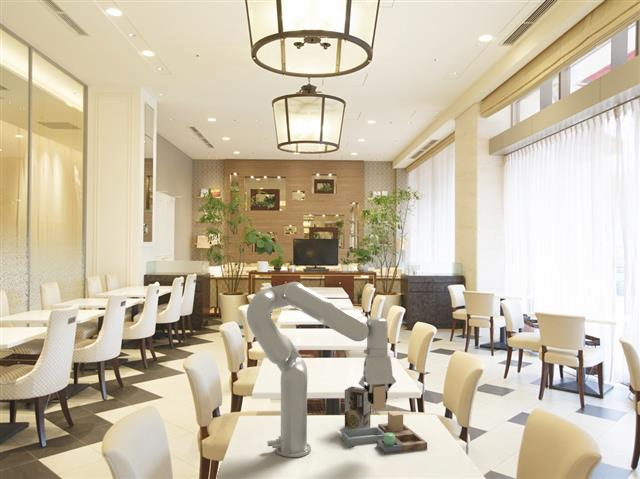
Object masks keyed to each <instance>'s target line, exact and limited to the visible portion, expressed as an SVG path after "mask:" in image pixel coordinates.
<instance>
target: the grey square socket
mask: <svg viewBox="0 0 640 479" xmlns="http://www.w3.org/2000/svg"><path fill="white" fill-rule="evenodd" d="M376 447H377V448H378V449H379V451H381V453H382V454H384V455H386V454H394V453H403V452H402V445H401V444H400V443H399V442H398V441H397V440H395V445H390V446H386V445H385V444H384V439H383V440H377V442H376Z"/></svg>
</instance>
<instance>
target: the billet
mask: <svg viewBox="0 0 640 479" xmlns="http://www.w3.org/2000/svg"><path fill="white" fill-rule="evenodd" d="M372 393H373V404H371V403H370V402H369V406H370V408H372V409H373V410H382V409H383V410H384V409H386V408H387V406H386V405H387V404H386V386H385V385H383V384H382V385H373V390H372Z"/></svg>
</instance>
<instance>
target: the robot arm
mask: <svg viewBox="0 0 640 479" xmlns="http://www.w3.org/2000/svg"><path fill="white" fill-rule="evenodd" d="M288 306H290V307H293V308H294V309H295V310H296V309H297V310H298V311H299V312H302V313H304V314H305V315H307V316H309V317H311V318H312V319H314V320H316V321H317V322H319V323H321V324H322V325H325V326H326V327H329V328H330V329H332V330H334V331H335V332H336V333H339V334H340V335H343V336H344V337H346V338H348V339H350V340H351V341H354V342H362V341H364V340H366V348H365V349H363V354H365V356H364V363H363V374H362V375H363V376H362V377H361V378H360V380H359V382H358V385H359V386H361V388H365V389H366V390H367V391H368V401H369V402H370V403H371V404H373V393H372V390H373V385H382V384H383V385H385V386H386V403H387V400H388V396H389V395H388V393H389V391H390V389H391V387H393V385H394V384H395V383H397V379H396V378H395V377H394V375H393V367H392V361H391V360H392V359H391V356H390V355H388V354H389V353H388V352H389V349H388V348H389V347H388V343H389V342H388V337H389V336H388V335H389V334H388V326H389V325H388V321H387V319H386V318H382V317H371V318H370V317H369V318H368V317H359V316H353V315H351V314H349V313H347V312H346V311H344V310H343V309H341V308H340V307H339V306H338V305H336V304H335V303H334V302H332V301H331V300H330V299H328V298H326V297H324V296H322V295H321V294H318V293H317V292H315V291H313V290H311V289H310V288H307V287H305V286H304V285H303V284H302V283H301V282H298V281H291V282H288V283H284V284H279V285H275V286H272V287H269V288H263V289H261V290H259V291H257V293H255V295H254V296H252V298H251V300H250V302H249V304H248V306H247V308H246V309H247V310H246V322H247V325H248V327H249V329H250V332H252V334H253V336H254V337H255V339H256V341H257V342H258V344H259V345H260V347H261V349H262V350H263V352H264V355H265V356H266V358H267V359H268V360H269V361H270V363H273V364H274V365H276V366H277V367H278V369H279V370H280V372H281V374H280V435H279V436H278V438H277V439H275V440H272V439H271V440H267V447H272V449H275V451H276V453H277V454H279V455H280V456H283V457H286V458H300V457H303V456H306V455H309V454H310V453H311V451H312V447H311V444H309V443H308V440H307V438H308V436H307V435H308V434H307V433H308V432H307V430H308V428H307V427H308V415H307V414H308V406H307V405H308V367H307V364H306V362H305V361H304V359H303V357H302V356H301V354H300V353H299V351H298V350H297V348H296V347H295V345H294V344H293V342H292V341H291V339H290V338H289V337H288V336H287V335H286V334H282V333H281V332H280V330H279V329H278V326H277V325H276V323H275V322H274V321H273V319H272V316H271V313H272V312H273V311H274V310H276V309H280V308H284V307H288ZM365 383H366V384H365Z"/></svg>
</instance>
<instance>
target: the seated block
mask: <svg viewBox="0 0 640 479" xmlns="http://www.w3.org/2000/svg"><path fill="white" fill-rule="evenodd" d="M387 423H388V431H389V432H396V431H403V424H404V413H402V412H401V411H399V410H395V411H394V410H393V411H387Z"/></svg>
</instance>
